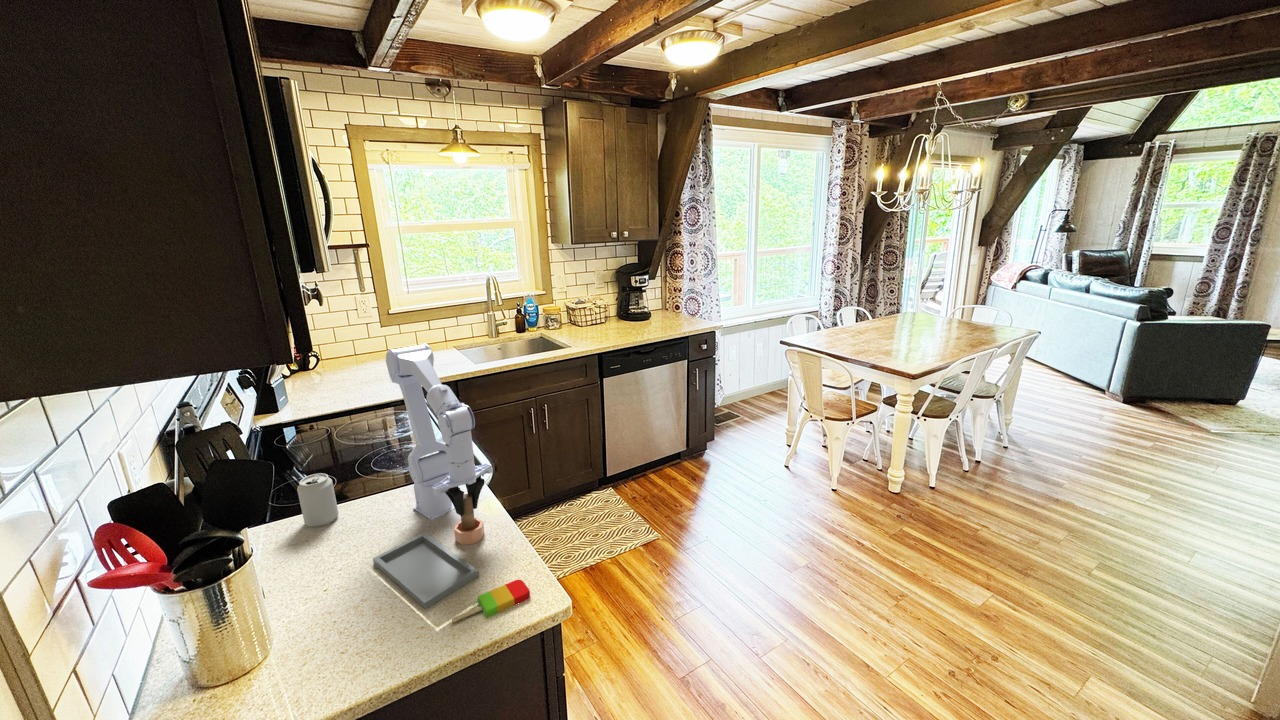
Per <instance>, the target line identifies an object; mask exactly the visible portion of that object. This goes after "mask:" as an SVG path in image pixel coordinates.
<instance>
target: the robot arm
mask: <svg viewBox="0 0 1280 720" xmlns="http://www.w3.org/2000/svg"><path fill="white" fill-rule="evenodd" d="M434 358H435V357H434V353H433V350H432V348H431V346H430V345H429V344H427V343H422V344H416V345H409V346H405V347H398V348H394V349H392V348H389V349H388V350H387V352H386V354H385V363H386V367H387V371H388V375H389V378H390V380H391V382H392V383H394V384H398V385H399V388H400V390H401V394H402V397H403V401H404V404H405V408H406V411H407V416H408V419H409V420H408V421H409V422H410V423H409V424H410V427H411V429H412V433H413V434H412V435H413V438H414V442H415V446H414V448H413V449H412V450H411V451H410V453H409V455H408V456H407V461H408V471H409V475H410V477H411V479H412V482H414V483H413V492H414V496H415V497H414V498H415V506H413V510H414V511H416V512H417V513H420V514H421V515H423V516H425V517H426V518H428V519H429V520H435V519H437V518H439V517H441V516H442V515H445V514H447V513H449V512H451V511H453V510H455V513H456V514H457V515H458V516H460V517H461V516H462V515H464V507H463V496H464V494H465V491H462V490H461V487H460V486H463V485H465V487H466V492H467V494H471V495H472V500H473V509H474V510H476V509H477V508H478V504H479V498H480V495H481V492H482V489H483V487H484V485H485V479H484V478H482V476H484V475H486V474H492V473H493V465H492V464H490V463H487V462H486V463H483V464H479V465H476V464H475V456H474V447H473V446H474V445H473V439H472V438H473V436H472V430H474V429H475V426H476V419H475V416H474V413H473V411H472V409H471V407H470V406H469V405H467V404H465V402H460V400H459V399H458V398H457V396H456V394H455V393H454V392H453V390H452V388H451V387H449V386H448V385H447V384H442V382H441V379H440V378H439V376H438V375H437V373H436V370H435V369H434V362H435V361H434V360H435V359H434ZM423 388H424V390H425V391H426V392H427V394H426V398H425V395H424V391H423ZM426 401H427V402H426ZM427 403H428V404H429V406H430V407H431V409H432V410H433V412H434V414H435V416H436V417H437V418H438V419H437V424H438V429H439V430H440V433H441V439H442V442H441V441H437V438H436V435H435V432H434V431H435V429H434V428H433V424H432V420H431V416H430V413H429V409H428V406H427Z"/></svg>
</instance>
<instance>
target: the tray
mask: <svg viewBox="0 0 1280 720" xmlns="http://www.w3.org/2000/svg"><path fill="white" fill-rule="evenodd" d="M372 562H373V565H374V566H376V568H378V569H379V570H380V571H381V572H382V573H383V574H384V575H386V577H388V578H389V579H390V580H391V581H392V582H393V583H395V584H396V585H397V586H398V587H399V588H400V589H401V590H403V591H404V592H405V593H406V594H407V595H409V596H410V597H411V598H412V599H413V600H414V601H416V602H417V604H418V605H420V606H421V607H422V608H423V609H425V610H427V609H428V608H431V607H432V606H433V605H435V604H437V603H438V602H440V601H442V600H443V599H445V598H446V597H448V596H450V595H451V594H452V593H455V592H456V591H458V590H459V589H461V588H462V587H464V586H466V585H467V584H470V583H471V582H472V581H474V580H475V579H477V578H478V577H480V574H479V570H478V569H477V568H476V567H475V566H473V565H471V564H470V563H468V562H467V561H466V560H464V559H463V558H461V557H460V556H459V555H457V554H455V552H453V551H451V550H450V549H448V548H447V547H446V546H445V545H443V544H441V542H439V541H437V540H436V539H434V538H433V537H431V536H430V535H428V534H427V533H426V532H422V533H421V534H419V535H418V534H417V536H414V537H413V538H411V539H408V540H406V541H405V542H403V543H400V544H399V545H397V546H395V547H393V548H390V549H389V550H386V551H384V552H383V553H380V554H379V555H376V556H375V557H373V558H372Z"/></svg>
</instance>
